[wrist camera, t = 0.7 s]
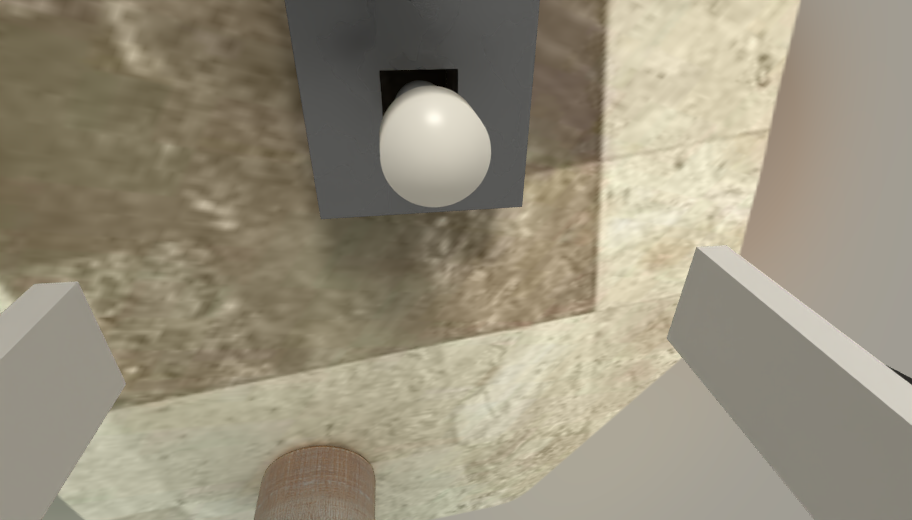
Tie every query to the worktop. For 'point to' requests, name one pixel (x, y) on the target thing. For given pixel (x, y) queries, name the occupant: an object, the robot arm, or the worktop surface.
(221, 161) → the worktop surface
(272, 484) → the planter
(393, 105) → the knob
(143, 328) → the worktop surface
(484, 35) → the mount
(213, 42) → the worktop surface
